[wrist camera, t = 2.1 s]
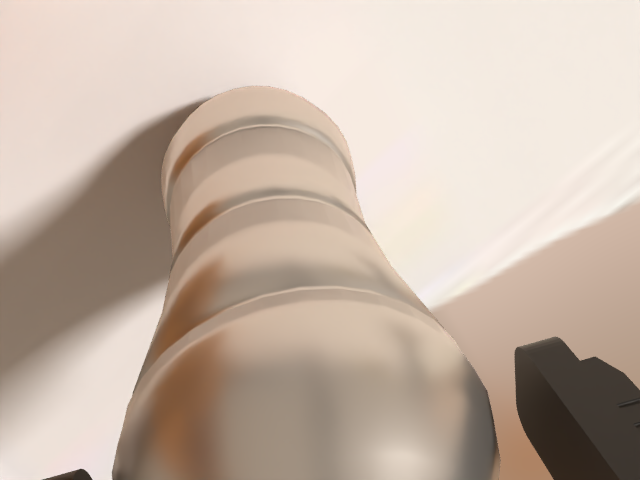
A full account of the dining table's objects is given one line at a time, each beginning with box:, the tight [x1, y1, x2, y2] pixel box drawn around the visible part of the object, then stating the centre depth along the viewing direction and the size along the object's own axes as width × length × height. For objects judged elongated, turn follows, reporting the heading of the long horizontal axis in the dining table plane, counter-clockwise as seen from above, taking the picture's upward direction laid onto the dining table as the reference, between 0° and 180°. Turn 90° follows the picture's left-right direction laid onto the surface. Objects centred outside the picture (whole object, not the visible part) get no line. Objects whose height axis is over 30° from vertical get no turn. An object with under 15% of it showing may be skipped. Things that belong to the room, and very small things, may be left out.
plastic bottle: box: [112, 86, 500, 480], centre depth 14 cm, size 6×7×20 cm
